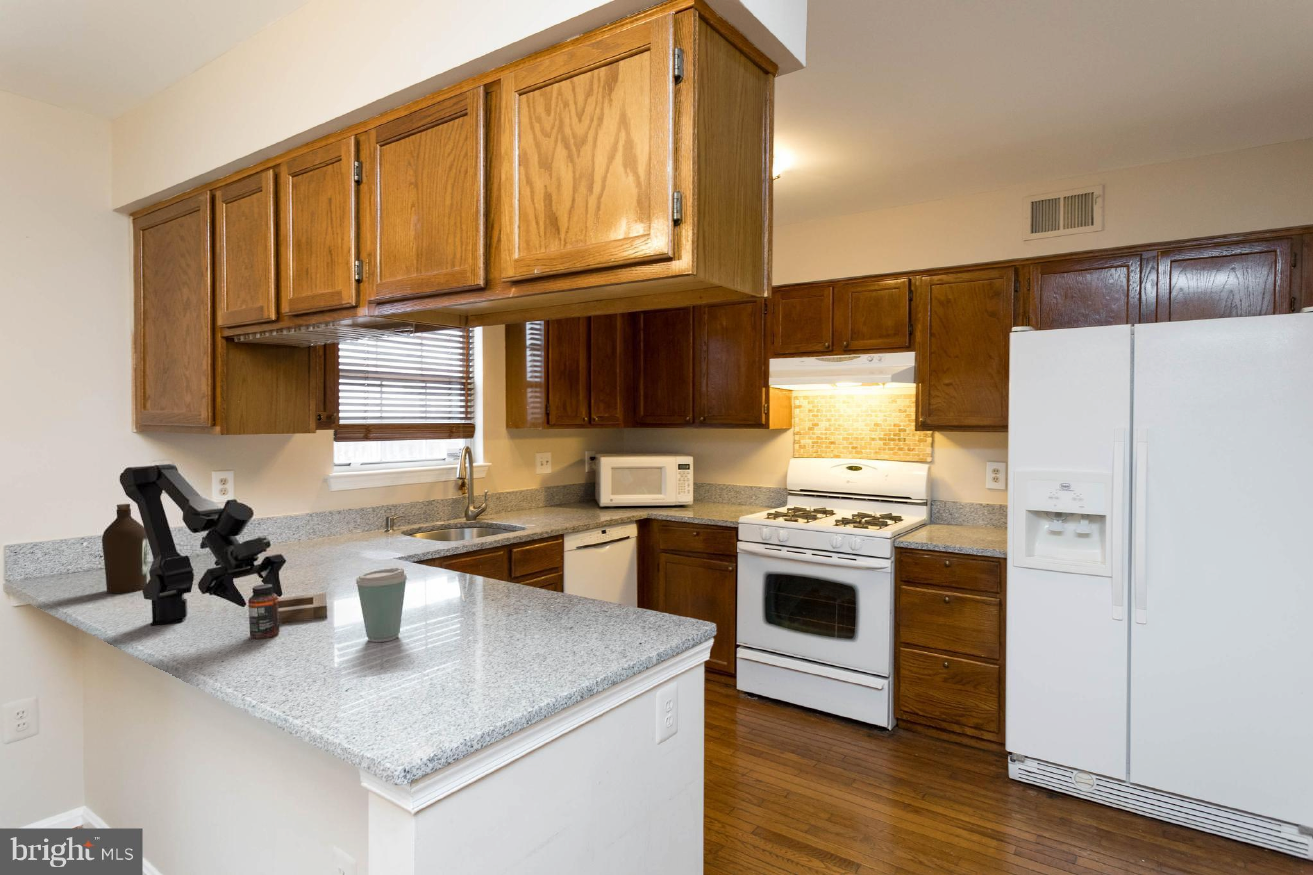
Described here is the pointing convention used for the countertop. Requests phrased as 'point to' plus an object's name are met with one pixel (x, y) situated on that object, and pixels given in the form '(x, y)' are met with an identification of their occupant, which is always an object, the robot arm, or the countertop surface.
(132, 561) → the olive oil
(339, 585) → the countertop surface
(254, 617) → the supplement bottle
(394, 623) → the disposable coffee cup
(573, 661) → the countertop surface
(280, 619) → the bottle holder
